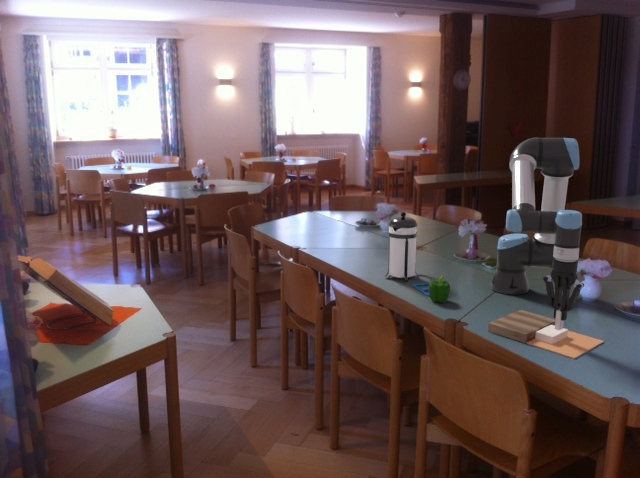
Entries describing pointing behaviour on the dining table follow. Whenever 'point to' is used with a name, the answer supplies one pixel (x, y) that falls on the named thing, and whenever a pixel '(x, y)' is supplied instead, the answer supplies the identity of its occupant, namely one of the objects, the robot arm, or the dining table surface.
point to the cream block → (551, 334)
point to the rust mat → (569, 345)
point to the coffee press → (402, 247)
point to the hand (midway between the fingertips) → (558, 328)
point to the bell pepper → (439, 290)
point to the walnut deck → (520, 325)
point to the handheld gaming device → (423, 288)
